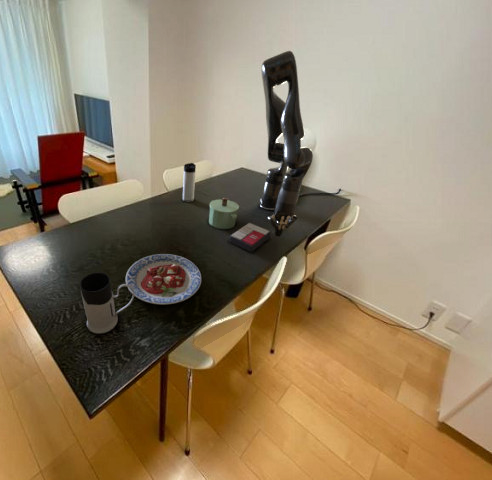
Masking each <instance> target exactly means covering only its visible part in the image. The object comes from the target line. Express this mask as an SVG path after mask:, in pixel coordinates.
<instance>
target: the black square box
mask: <svg viewBox="0 0 492 480" xmlns="http://www.w3.org/2000/svg"><path fill="white" fill-rule="evenodd" d="M270 236H271V231H270V230H268V229H265V228H263V227H261V226H258V225H256V224H254V223H251V222H247V224H244V226H242V227H241V228H239V229H238V230H236V231H235V232H233V233H232V234H231V235H230V236H229V243H231V244H233V245H235V246H237V247H239V248H241V249H243V250H245V251H247V252H250V253H252V252H254V251H255V250H256V249H257V248H259V247H260V246H261V245H262V244H264V243H265V242H267V241H268V240H269V239H270Z"/></svg>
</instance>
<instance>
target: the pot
mask: <svg viewBox="0 0 492 480" xmlns="http://www.w3.org/2000/svg"><path fill="white" fill-rule="evenodd" d="M238 210H239V209H238ZM238 210H237V211H236V212H233V213H221V212H217V211H214V210H212V209H211V208H210V207H209V213H208V224H209V225H210V226H211V227H213V228H215V229H221V230H227V229H228V230H229V229H232V228H234V227H235V225H236V222H237V218H238Z"/></svg>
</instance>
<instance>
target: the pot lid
mask: <svg viewBox="0 0 492 480" xmlns="http://www.w3.org/2000/svg"><path fill="white" fill-rule="evenodd" d="M210 208H211V209H212V210H214V211H217V212H221V213H233V212H236V211H237V210H239V209H240V205H239V204H238V203H237V202H235V201H233V200H230V199H228V197H224V196H223V197H222V199H221V198H220V199H214V200H211V201H210V202H209V209H210ZM237 212H238V211H237Z"/></svg>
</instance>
